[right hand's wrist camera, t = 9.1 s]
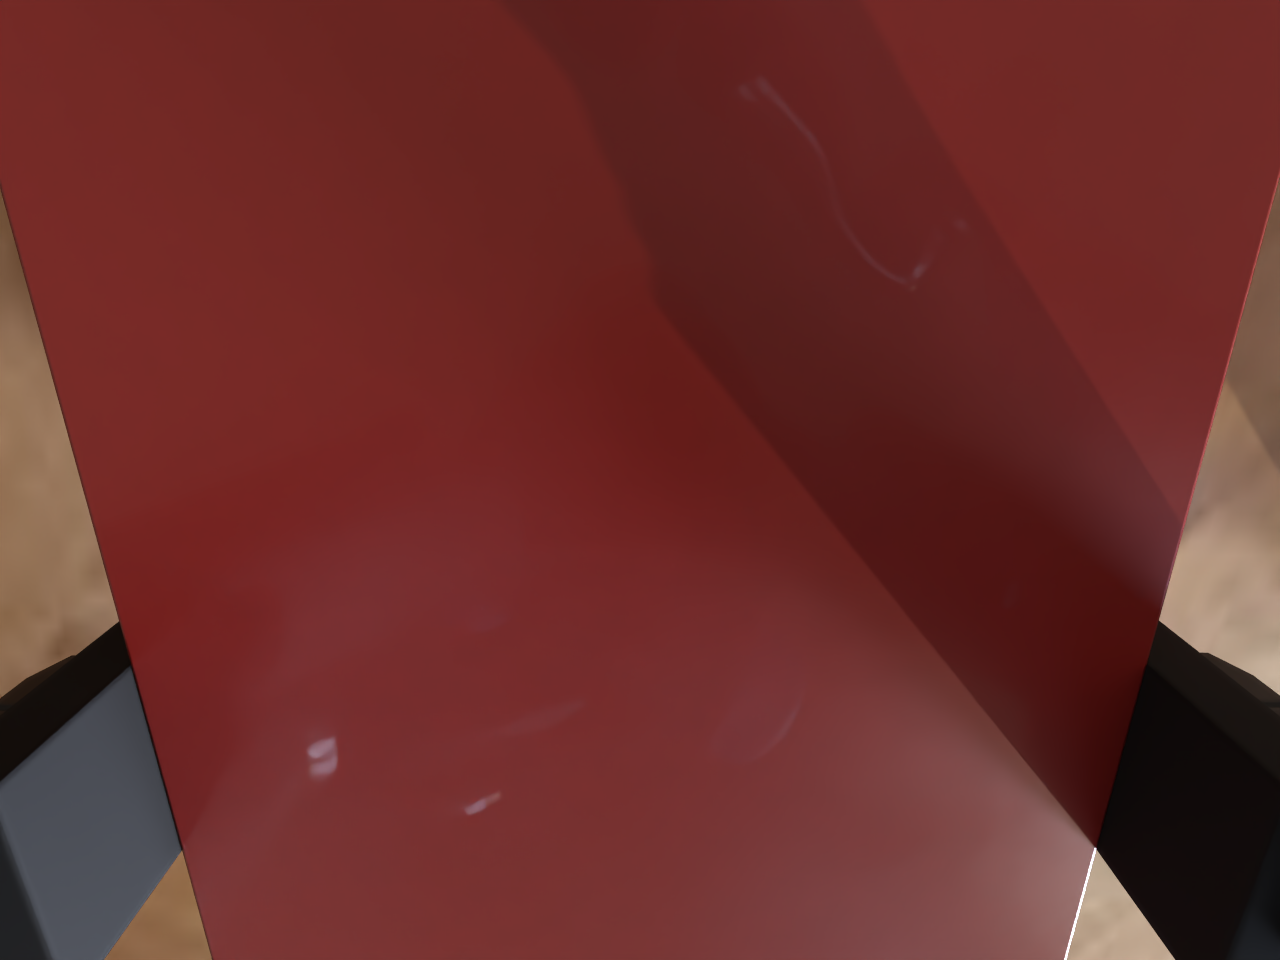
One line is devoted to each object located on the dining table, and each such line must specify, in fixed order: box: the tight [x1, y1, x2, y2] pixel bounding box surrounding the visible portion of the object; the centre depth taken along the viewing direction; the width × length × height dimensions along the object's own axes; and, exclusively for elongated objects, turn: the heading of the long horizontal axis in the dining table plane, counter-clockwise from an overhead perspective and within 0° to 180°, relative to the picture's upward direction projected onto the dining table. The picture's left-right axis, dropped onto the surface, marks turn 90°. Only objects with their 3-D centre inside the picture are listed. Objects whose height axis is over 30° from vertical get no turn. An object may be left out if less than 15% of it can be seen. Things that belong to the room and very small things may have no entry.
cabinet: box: [0, 0, 1280, 960], centre depth 13 cm, size 17×11×12 cm, turn 0°
